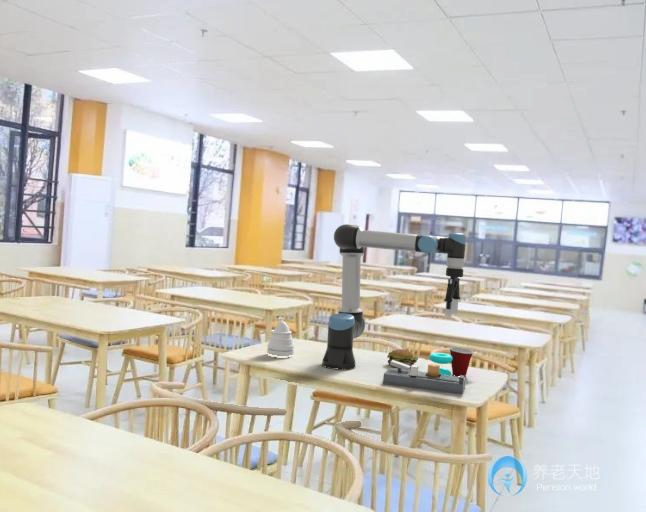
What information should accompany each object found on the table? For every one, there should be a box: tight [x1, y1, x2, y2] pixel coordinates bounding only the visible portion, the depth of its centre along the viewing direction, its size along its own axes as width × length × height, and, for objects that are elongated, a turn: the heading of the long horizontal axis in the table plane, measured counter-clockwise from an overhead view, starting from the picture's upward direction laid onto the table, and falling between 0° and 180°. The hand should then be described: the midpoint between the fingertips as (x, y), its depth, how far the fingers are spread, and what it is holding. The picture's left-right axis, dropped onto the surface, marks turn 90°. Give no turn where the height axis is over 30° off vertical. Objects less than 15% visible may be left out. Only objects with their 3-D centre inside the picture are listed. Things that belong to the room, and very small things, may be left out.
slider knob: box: [410, 364, 419, 376], centre depth 245 cm, size 2×4×4 cm, turn 162°
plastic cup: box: [449, 346, 474, 377], centre depth 269 cm, size 11×11×12 cm
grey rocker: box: [390, 360, 411, 371], centre depth 254 cm, size 8×4×2 cm, turn 73°
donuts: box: [429, 352, 453, 376], centre depth 264 cm, size 10×10×10 cm
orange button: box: [427, 363, 441, 377], centre depth 249 cm, size 5×5×5 cm
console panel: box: [382, 367, 467, 395], centre depth 248 cm, size 32×13×6 cm, turn 72°
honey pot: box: [266, 317, 295, 356], centre depth 288 cm, size 13×13×18 cm
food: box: [386, 348, 419, 369], centre depth 282 cm, size 14×14×8 cm
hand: (451, 315), depth 268 cm, fingers open, 13 cm apart
